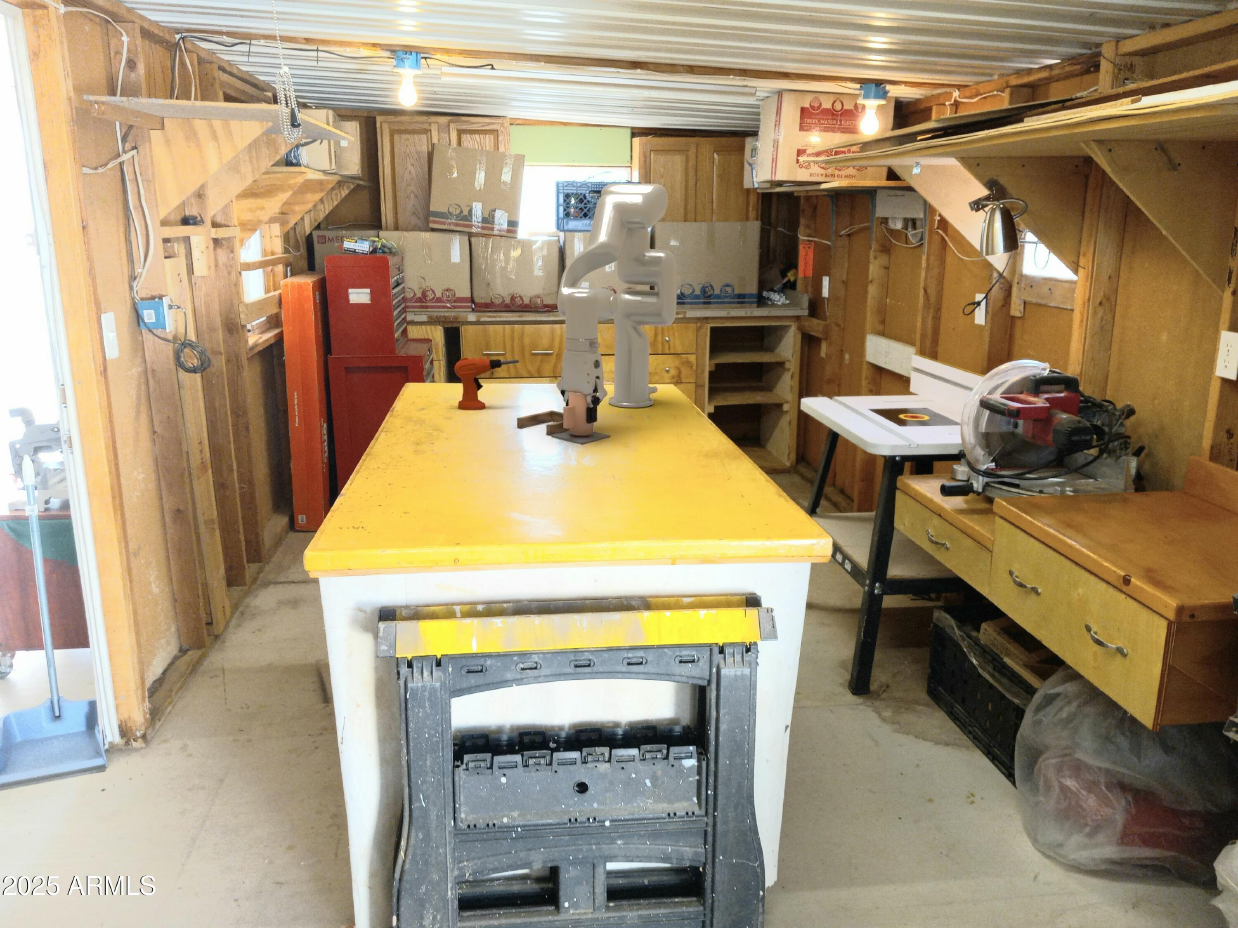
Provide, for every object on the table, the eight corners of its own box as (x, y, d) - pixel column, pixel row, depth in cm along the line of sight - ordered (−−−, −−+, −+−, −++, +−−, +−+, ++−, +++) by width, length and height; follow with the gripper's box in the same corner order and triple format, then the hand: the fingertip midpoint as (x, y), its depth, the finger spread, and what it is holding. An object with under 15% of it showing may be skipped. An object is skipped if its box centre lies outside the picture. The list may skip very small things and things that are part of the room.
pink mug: (580, 428, 224) (580, 387, 222) (598, 432, 221) (599, 391, 218) (556, 434, 218) (555, 392, 215) (574, 438, 214) (574, 396, 212)
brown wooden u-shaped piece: (552, 419, 237) (552, 410, 237) (584, 427, 230) (584, 417, 230) (517, 427, 228) (517, 418, 228) (549, 435, 221) (549, 425, 221)
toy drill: (525, 404, 248) (517, 352, 244) (458, 413, 247) (449, 360, 243) (524, 401, 253) (517, 349, 248) (459, 409, 251) (450, 357, 247)
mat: (579, 430, 227) (579, 428, 227) (610, 436, 221) (610, 435, 221) (551, 437, 220) (551, 435, 220) (582, 444, 214) (582, 442, 214)
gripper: (620, 347, 212) (618, 423, 217) (565, 339, 223) (565, 412, 228) (598, 351, 206) (597, 429, 211) (544, 343, 217) (544, 417, 222)
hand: (581, 419), depth 219 cm, fingers closed on pink mug, 6 cm apart
